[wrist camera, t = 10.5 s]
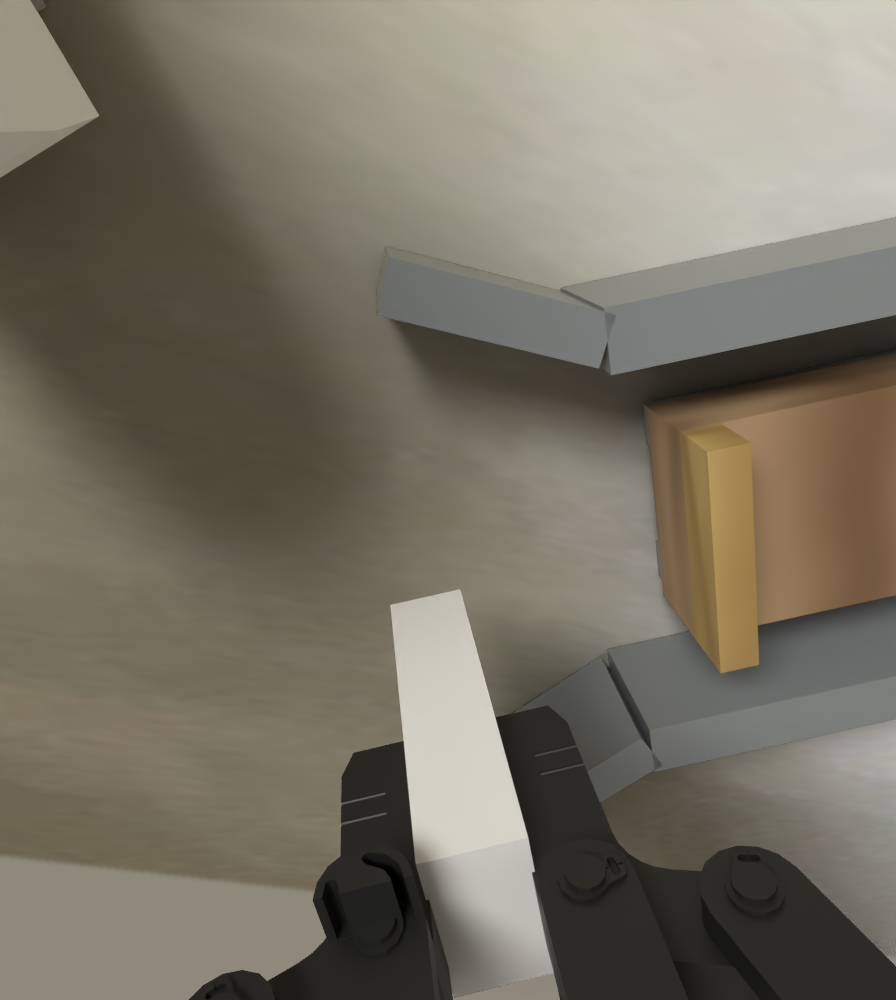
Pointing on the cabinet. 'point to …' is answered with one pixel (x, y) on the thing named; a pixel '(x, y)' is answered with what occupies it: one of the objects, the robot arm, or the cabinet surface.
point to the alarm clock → (34, 87)
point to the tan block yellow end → (775, 499)
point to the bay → (661, 340)
